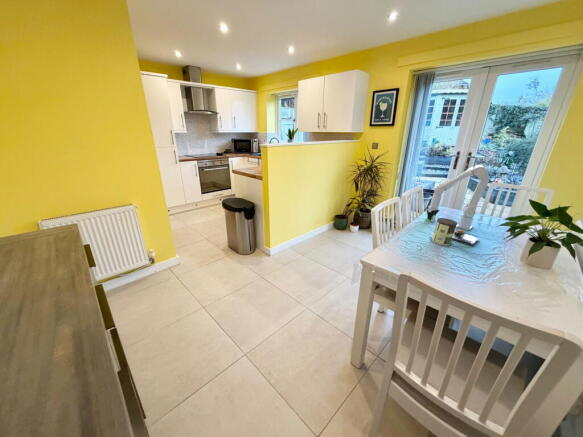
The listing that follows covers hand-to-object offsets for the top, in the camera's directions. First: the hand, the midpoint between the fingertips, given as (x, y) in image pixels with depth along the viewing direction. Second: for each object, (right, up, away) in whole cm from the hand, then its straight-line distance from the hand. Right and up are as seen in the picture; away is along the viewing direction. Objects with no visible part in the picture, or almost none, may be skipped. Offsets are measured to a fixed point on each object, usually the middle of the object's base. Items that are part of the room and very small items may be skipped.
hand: (430, 218), depth 174 cm
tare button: (+4, -9, -25) cm, 26 cm away
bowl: (0, -1, 0) cm, 1 cm away
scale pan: (+3, -12, -33) cm, 35 cm away
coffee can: (-13, -14, -32) cm, 37 cm away
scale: (+3, -14, -29) cm, 32 cm away
